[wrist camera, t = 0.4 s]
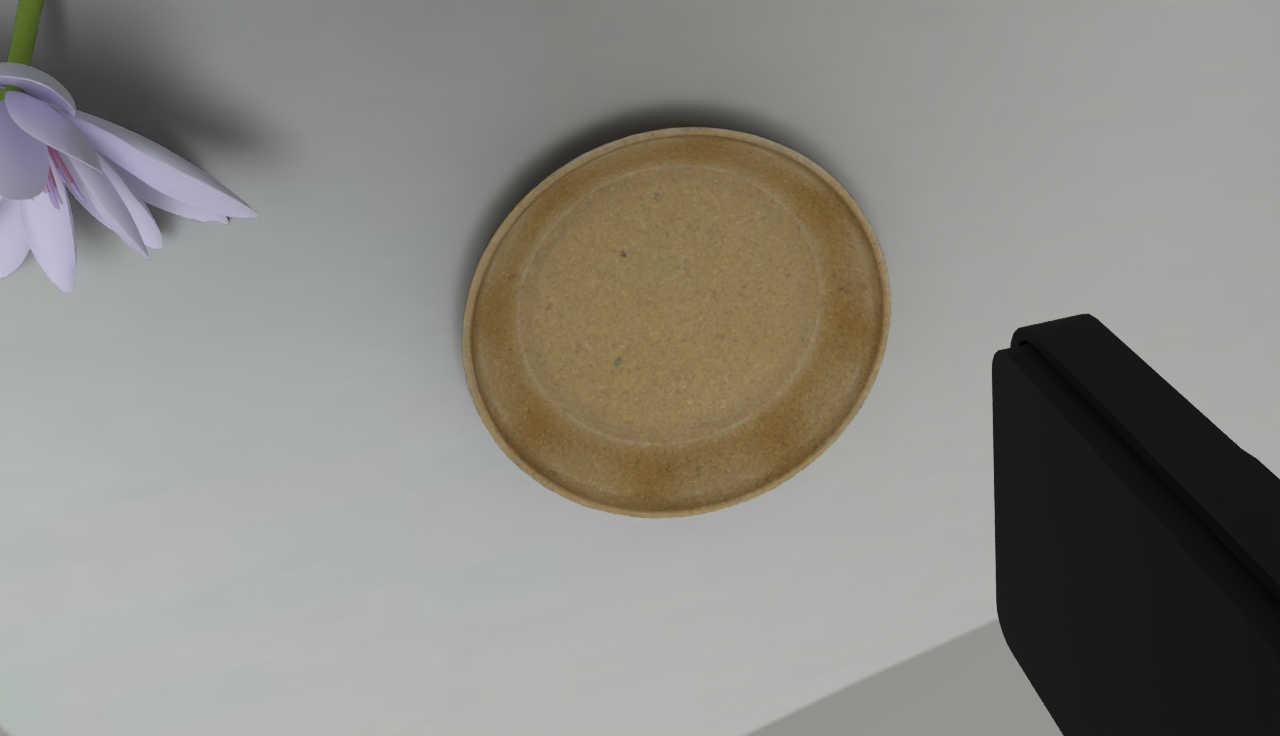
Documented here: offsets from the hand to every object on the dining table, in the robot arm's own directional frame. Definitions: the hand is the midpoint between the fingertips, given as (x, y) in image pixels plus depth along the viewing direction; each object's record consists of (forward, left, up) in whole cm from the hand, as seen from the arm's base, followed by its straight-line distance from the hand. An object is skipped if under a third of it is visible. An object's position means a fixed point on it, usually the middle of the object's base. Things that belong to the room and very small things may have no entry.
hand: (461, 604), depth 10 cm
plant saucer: (+13, +6, -31) cm, 34 cm away
